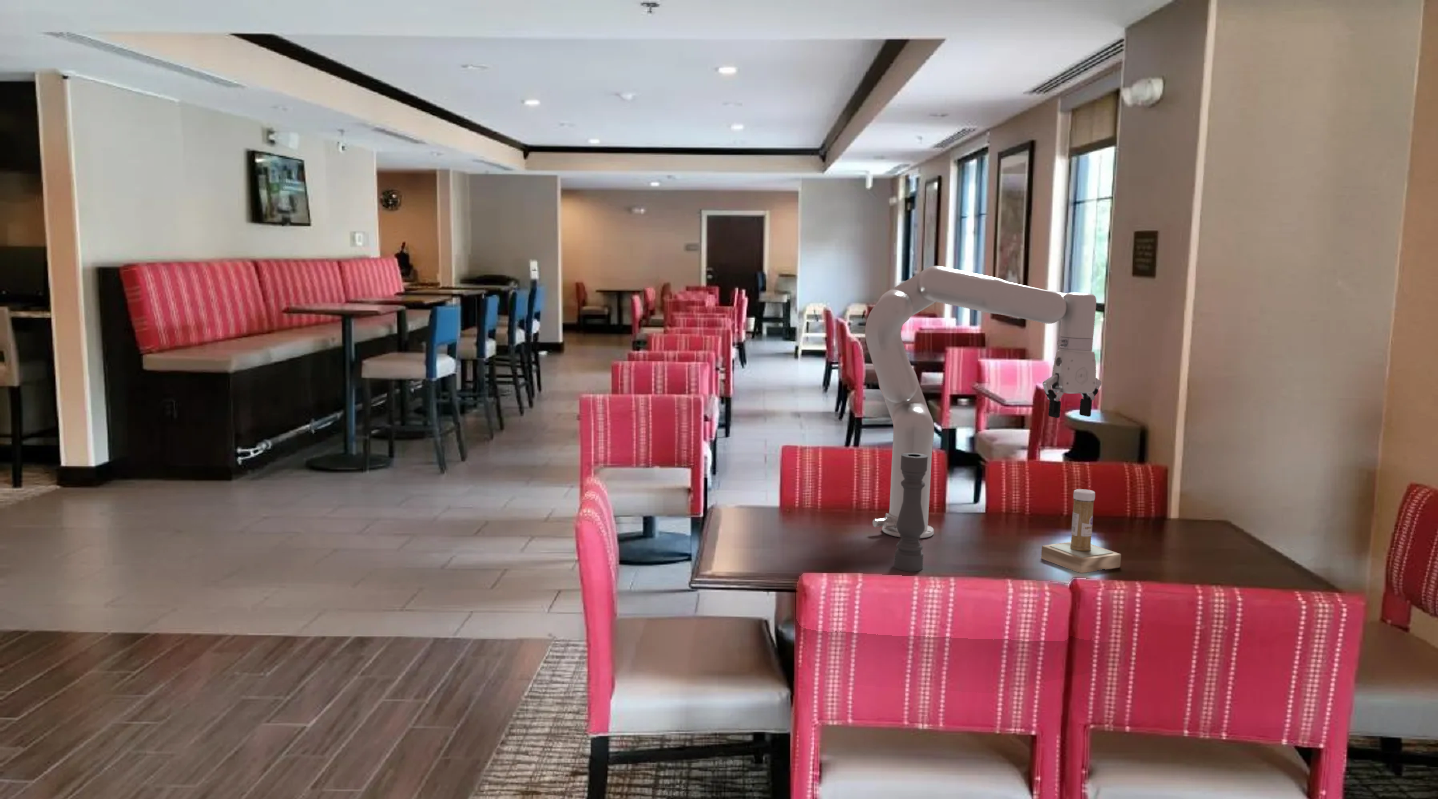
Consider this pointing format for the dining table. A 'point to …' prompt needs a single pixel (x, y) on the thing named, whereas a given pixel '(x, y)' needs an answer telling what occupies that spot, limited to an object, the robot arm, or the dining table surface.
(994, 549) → the dining table surface
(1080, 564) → the tray
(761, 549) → the dining table surface
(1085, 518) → the sprinkles bottle
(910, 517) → the candle holder
